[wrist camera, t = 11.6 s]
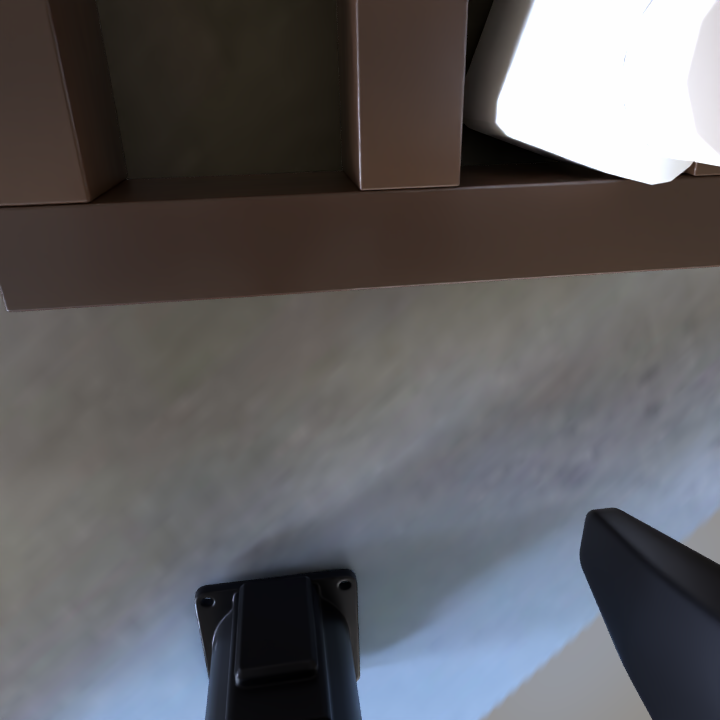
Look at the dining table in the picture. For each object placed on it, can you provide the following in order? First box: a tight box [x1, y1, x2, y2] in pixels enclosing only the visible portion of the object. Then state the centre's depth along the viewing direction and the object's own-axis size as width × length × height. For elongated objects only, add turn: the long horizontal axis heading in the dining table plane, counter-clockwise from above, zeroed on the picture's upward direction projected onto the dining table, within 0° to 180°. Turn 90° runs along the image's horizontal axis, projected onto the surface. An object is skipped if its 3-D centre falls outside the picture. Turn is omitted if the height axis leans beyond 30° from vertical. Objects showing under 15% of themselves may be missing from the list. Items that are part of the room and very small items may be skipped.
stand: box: [0, 0, 720, 312], centre depth 15 cm, size 11×20×4 cm, turn 91°
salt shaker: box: [463, 0, 720, 185], centre depth 13 cm, size 4×4×10 cm
